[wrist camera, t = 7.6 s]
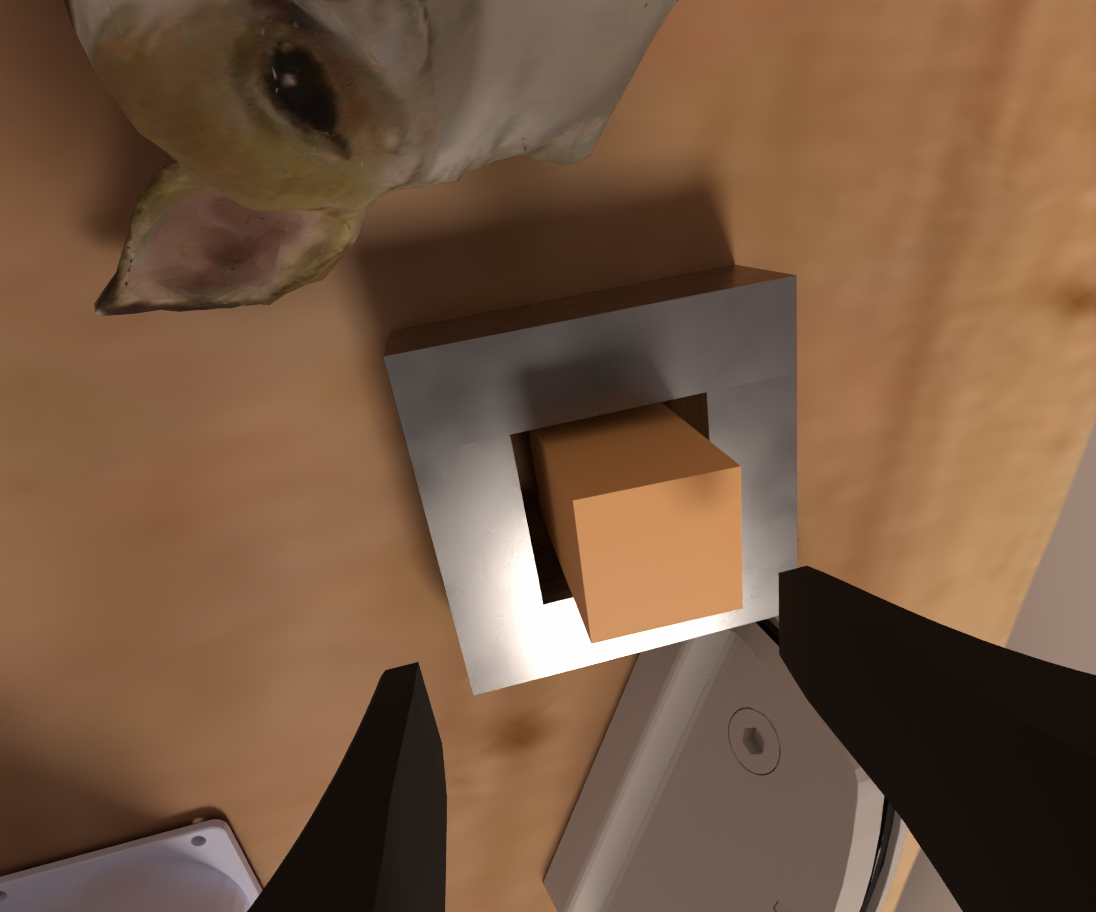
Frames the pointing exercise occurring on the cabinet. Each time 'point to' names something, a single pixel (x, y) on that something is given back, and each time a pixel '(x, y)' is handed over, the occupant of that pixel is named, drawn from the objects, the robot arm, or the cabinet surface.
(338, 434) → the cabinet surface
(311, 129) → the ceramic sculpture
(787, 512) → the socket block
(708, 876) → the banded rounded wedge
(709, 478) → the orange square-section block
